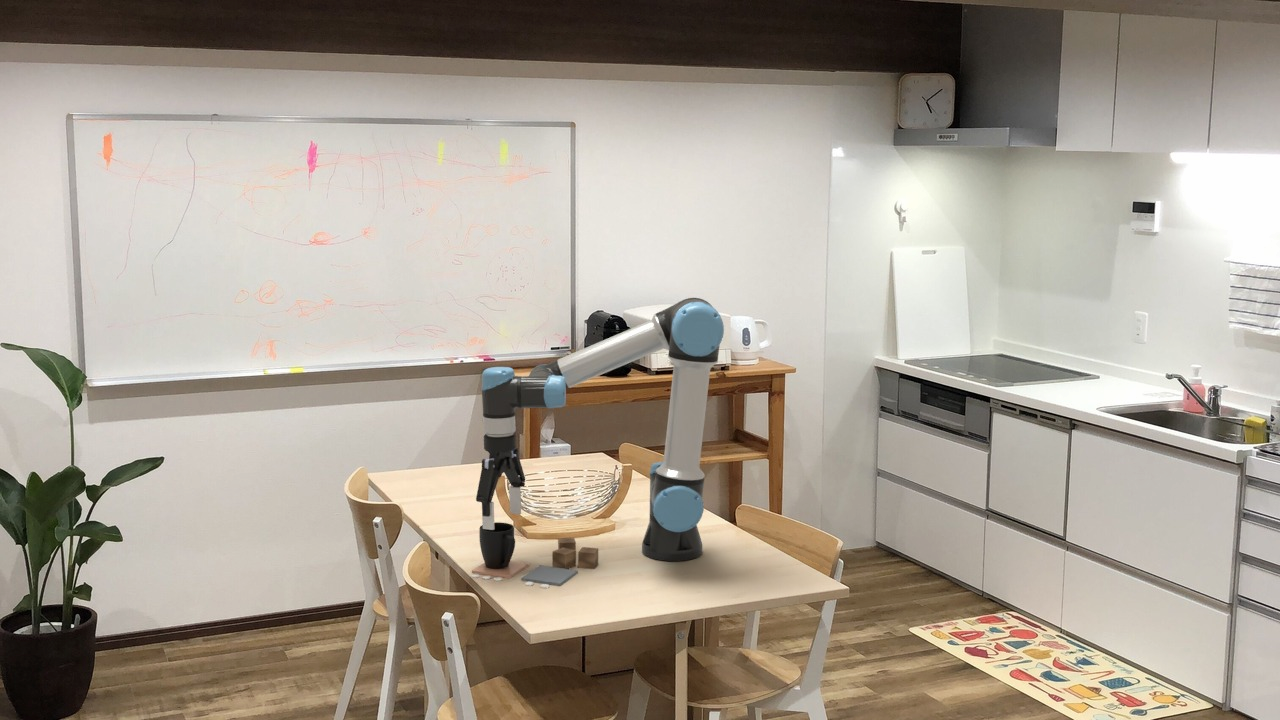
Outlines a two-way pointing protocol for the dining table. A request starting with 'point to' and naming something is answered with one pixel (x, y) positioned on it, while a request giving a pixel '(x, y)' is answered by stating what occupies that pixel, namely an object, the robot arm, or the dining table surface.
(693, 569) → the dining table surface
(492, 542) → the mug
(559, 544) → the block
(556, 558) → the block
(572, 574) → the pad two
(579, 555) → the block
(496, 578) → the pad three
